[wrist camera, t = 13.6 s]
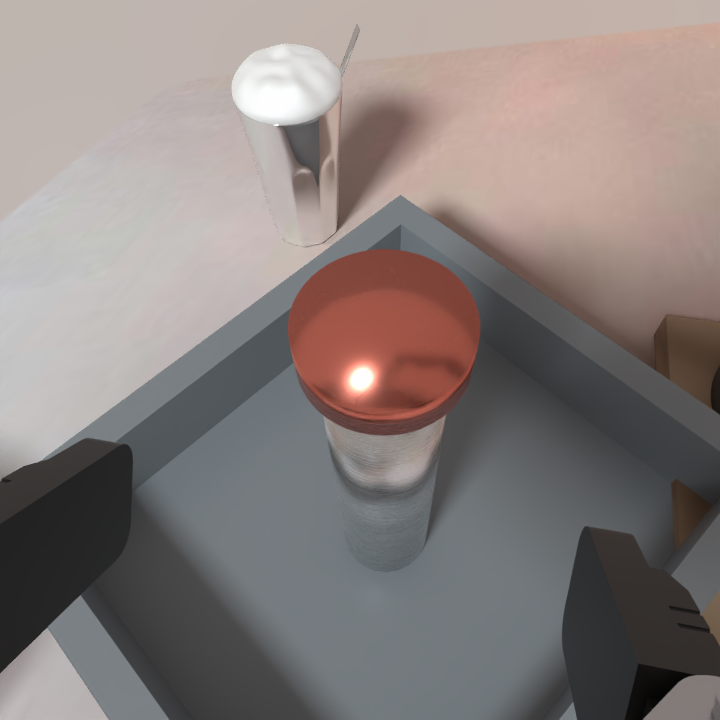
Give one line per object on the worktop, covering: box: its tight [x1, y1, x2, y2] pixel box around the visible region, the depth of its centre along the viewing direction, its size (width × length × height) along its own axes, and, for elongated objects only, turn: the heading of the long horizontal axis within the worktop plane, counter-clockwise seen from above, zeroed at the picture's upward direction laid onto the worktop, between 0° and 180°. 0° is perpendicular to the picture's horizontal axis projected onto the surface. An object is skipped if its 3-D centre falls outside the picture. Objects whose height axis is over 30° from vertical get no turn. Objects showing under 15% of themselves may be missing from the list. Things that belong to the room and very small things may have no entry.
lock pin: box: [288, 249, 480, 572], centre depth 19 cm, size 4×4×13 cm
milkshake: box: [232, 24, 360, 247], centre depth 30 cm, size 4×5×10 cm
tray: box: [40, 195, 720, 720], centre depth 23 cm, size 20×18×4 cm
